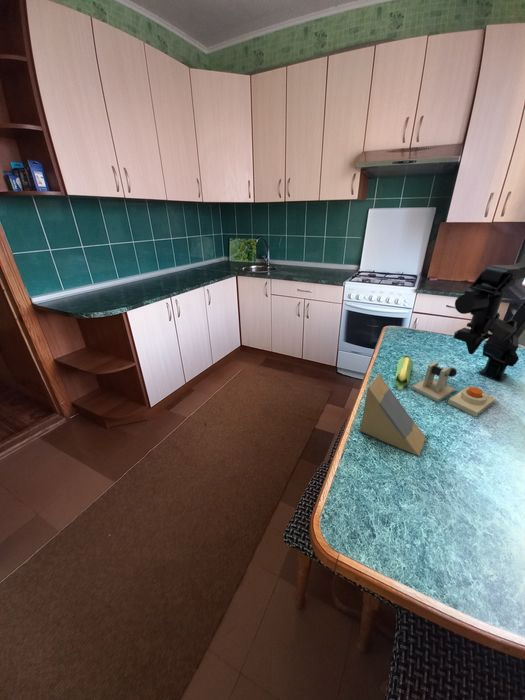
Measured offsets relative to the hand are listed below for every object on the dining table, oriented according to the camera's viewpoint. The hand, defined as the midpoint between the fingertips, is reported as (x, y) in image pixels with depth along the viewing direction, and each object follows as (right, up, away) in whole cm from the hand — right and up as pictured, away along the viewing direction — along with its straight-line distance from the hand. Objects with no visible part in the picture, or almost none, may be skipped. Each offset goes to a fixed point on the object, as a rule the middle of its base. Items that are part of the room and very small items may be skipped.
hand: (470, 353), depth 96 cm
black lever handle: (-8, -8, +2) cm, 11 cm away
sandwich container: (-33, -22, -16) cm, 43 cm away
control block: (-4, -15, -5) cm, 17 cm away
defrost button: (-4, -13, -6) cm, 15 cm away
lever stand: (-12, -12, +1) cm, 17 cm away
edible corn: (-18, -9, +9) cm, 22 cm away
